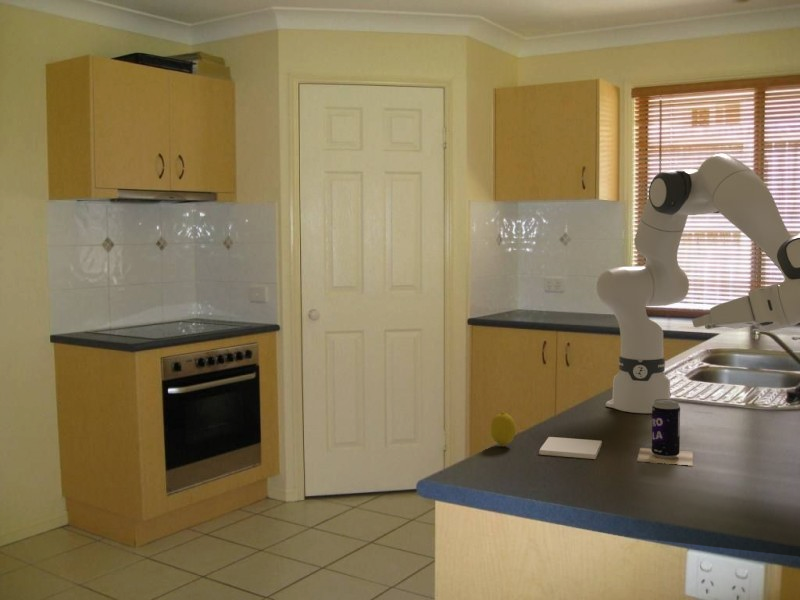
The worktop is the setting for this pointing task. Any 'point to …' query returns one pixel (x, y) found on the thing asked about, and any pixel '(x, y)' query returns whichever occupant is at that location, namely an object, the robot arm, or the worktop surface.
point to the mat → (571, 447)
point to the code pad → (680, 459)
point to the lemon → (503, 428)
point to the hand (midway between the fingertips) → (699, 324)
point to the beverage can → (665, 428)
